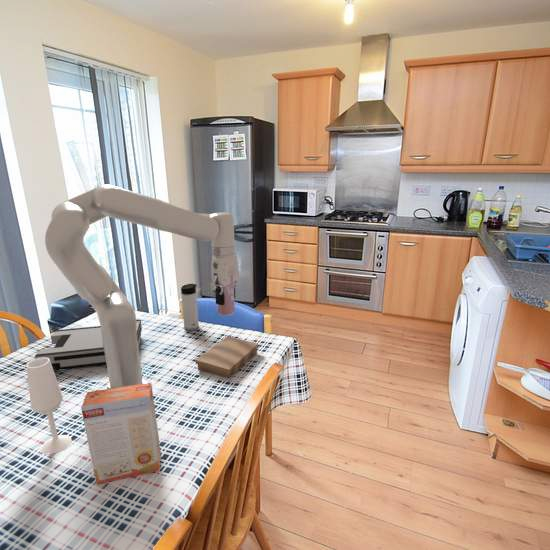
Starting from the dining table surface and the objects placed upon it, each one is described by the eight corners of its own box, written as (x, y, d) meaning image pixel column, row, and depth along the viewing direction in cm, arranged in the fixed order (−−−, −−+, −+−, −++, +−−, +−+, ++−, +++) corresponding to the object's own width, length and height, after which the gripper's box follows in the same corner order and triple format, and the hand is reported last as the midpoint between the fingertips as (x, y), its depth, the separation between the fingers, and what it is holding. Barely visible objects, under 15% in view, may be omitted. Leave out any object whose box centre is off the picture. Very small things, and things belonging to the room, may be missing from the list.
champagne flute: (43, 439, 95) (24, 358, 88) (72, 432, 98) (56, 353, 90) (39, 457, 89) (18, 372, 82) (70, 449, 92) (52, 366, 85)
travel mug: (197, 331, 156) (194, 287, 150) (182, 331, 156) (178, 287, 150) (201, 324, 161) (197, 282, 155) (186, 324, 162) (182, 282, 156)
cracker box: (161, 453, 90) (152, 380, 84) (160, 472, 85) (150, 396, 79) (100, 464, 87) (86, 389, 81) (95, 485, 82) (79, 406, 75)
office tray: (58, 346, 144) (54, 327, 142) (142, 337, 151) (140, 319, 148) (38, 374, 125) (33, 353, 122) (136, 363, 132) (133, 342, 129)
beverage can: (226, 308, 130) (224, 268, 126) (238, 312, 127) (236, 271, 122) (214, 313, 126) (211, 272, 121) (226, 317, 122) (223, 275, 118)
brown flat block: (229, 380, 120) (229, 369, 119) (196, 369, 126) (195, 359, 125) (258, 353, 137) (258, 343, 136) (228, 345, 144) (227, 336, 142)
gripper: (217, 257, 111) (220, 312, 116) (246, 246, 125) (248, 295, 131) (197, 255, 114) (201, 308, 119) (228, 244, 129) (230, 291, 134)
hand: (225, 300), depth 125 cm, fingers closed on beverage can, 6 cm apart
